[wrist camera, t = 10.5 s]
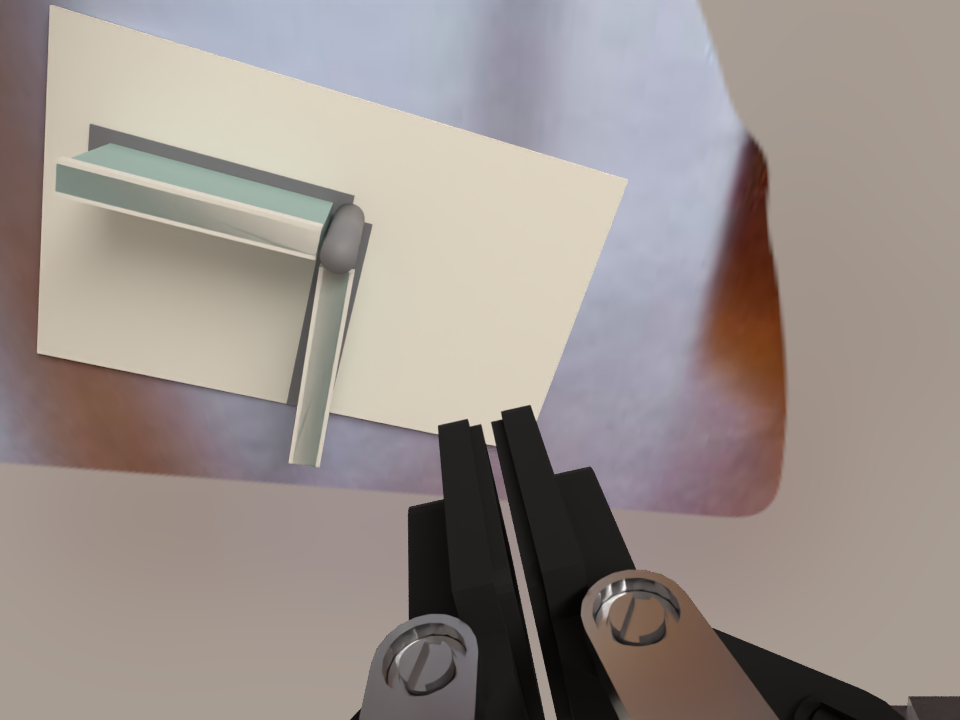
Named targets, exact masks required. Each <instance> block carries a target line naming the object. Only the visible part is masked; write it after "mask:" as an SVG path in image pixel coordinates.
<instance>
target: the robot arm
mask: <svg viewBox="0 0 960 720" xmlns="http://www.w3.org/2000/svg"><path fill="white" fill-rule="evenodd" d="M501 416H502V419H501V420H497V421H492V422H491V425H492V430H493V434H494V439H495V443H496V448H497V452H498V457H499V461H500V466H501V470H502V475H503V479H504V484H505V488H506V493H507V497H508V502H509V506H510V511H511V515H512V520H513V524H514V529H515V533H516V538H517V543H518V547H519V551H520V556H521V561H522V565H523V569H524V574H525V579H526V583H527V588H528V592H529V596H530V601H531V605H532V610H533V614H534V618H535V623H536V628H537V632H538V637H539V641H540V646H541V650H542V655H543V659H544V664H545V668H546V672H547V677H548V681H549V686H550V690H551V695H552V699H553V703H554V708H555V713H556V717H557V720H960V696H909V697H908V705H906V706H905V705H904V706H903V705H902V706H901V705H900V706H897V705H895V706H894V705H891V706H890V705H889V704H887V703H886V702H885V701H883V700H881V699H879V698H878V697H876V696H874V695H872V694H870V693H869V692H867V691H864V690H862V689H860V688H858V687H855V686H853V685H850V684H848V683H845V682H843V681H840V680H838V679H836V678H833V677H831V676H828V675H826V674H823V673H821V672H819V671H816V670H814V669H811V668H809V667H806V666H804V665H802V664H799V663H797V662H794V661H792V660H789V659H787V658H785V657H782V656H780V655H777V654H775V653H772V652H770V651H768V650H765V649H763V648H760V647H758V646H755V645H753V644H750V643H748V642H745V641H743V640H741V639H738V638H736V637H733V636H731V635H729V634H726V633H724V632H721V631H719V630H716V629H714V628H712V627H711V626H710V625H709V623H708V622H707V620H706V619H705V618H704V617H703V615H702V614H701V612H700V611H699V610H698V608H697V607H696V606H695V604H694V603H693V601H692V600H691V599H690V598H689V596H688V595H687V593H686V592H685V591H684V590H683V589H682V588H681V587H680V586H679V585H678V584H677V583H676V582H675V581H673V580H671V579H669V578H667V577H666V576H664V575H662V574H659V573H655V572H651V571H647V570H636V568H635V566H634V563H633V561H632V559H631V556H630V554H629V552H628V549H627V547H626V545H625V543H624V540H623V538H622V536H621V533H620V531H619V529H618V526H617V524H616V522H615V519H614V517H613V515H612V512H611V510H610V508H609V505H608V503H607V501H606V498H605V496H604V494H603V491H602V489H601V487H600V485H599V482H598V480H597V478H596V475H595V473H594V471H593V469H592V468H591V467H586V468H581V469H577V470H572V471H568V472H563V473H559V474H554V472H553V469H552V466H551V464H550V461H549V458H548V455H547V452H546V449H545V446H544V443H543V440H542V437H541V434H540V431H539V428H538V425H537V422H536V419H535V416H534V413H533V410H532V408H531V405H527V406H522V407H518V408H513V409H509V410H504V411H501ZM438 435H439V447H440V459H441V471H442V482H443V494H444V499H443V500H438V501H434V502H430V503H425V504H421V505H416V506H411V507H409V510H408V558H409V559H408V561H409V562H408V563H409V621H407V622H405V623H403V624H401V625H399V626H398V627H397V628H395V629H394V630H393V631H392V632H390V633H389V634H388V635H387V636H386V637H385V639H384V640H383V641H382V643H381V644H380V645H379V646H378V648H377V650H376V652H375V655H374V657H373V660H372V662H371V667H370V671H369V676H368V681H367V686H366V689H365V695H364V699H363V703H362V708H361V709H360V710H359V711H358V712H357V713H356V714H355V715H354V716H353V718H352V719H351V720H545V717H544V713H543V707H542V702H541V697H540V693H539V688H538V683H537V678H536V673H535V668H534V663H533V658H532V653H531V648H530V644H529V639H528V634H527V629H526V624H525V619H524V614H523V610H522V604H521V599H520V595H519V590H518V585H517V580H516V575H515V570H514V565H513V561H512V556H511V551H510V546H509V542H508V538H507V533H506V529H505V525H504V520H503V516H502V512H501V507H500V503H499V499H498V494H497V490H496V486H495V481H494V477H493V473H492V468H491V464H490V460H489V455H488V451H487V447H486V442H485V438H484V434H483V429H482V425H481V424H479V425H474V426H470V425H469V421H468V419H464V420H460V421H455V422H451V423H446V424H442V425H438Z"/></svg>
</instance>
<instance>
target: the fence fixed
mask: <svg viewBox="0 0 960 720" xmlns="http://www.w3.org/2000/svg"><path fill="white" fill-rule="evenodd" d="M55 196H58V197H62V198H66V199H70V200H74V201H78V202H82V203H86V204H90V205H94V206H98V207H102V208H106V209H110V210H114V211H118V212H122V213H126V214H130V215H134V216H138V217H142V218H146V219H150V220H154V221H158V222H162V223H166V224H170V225H174V226H178V227H182V228H186V229H190V230H194V231H198V232H202V233H206V234H210V235H214V236H218V237H222V238H226V239H230V240H234V241H238V242H243V243H247V244H251V245H255V246H259V247H263V248H267V249H271V250H275V251H279V252H283V253H287V254H291V255H295V256H299V257H303V258H307V259H311V260H315V259H316V257H317V252H318V250H319V247H320V245H321V242H322V240H323V237H324V235H325V232H326V230H327V227H328V225H329V220H330V215H331V211H332V206H333V203H332V202H328V201H325V200H321V199H317V198H314V197H310V196H306V195H302V194H299V193H295V192H291V191H287V190H284V189H280V188H276V187H273V186H269V185H265V184H261V183H258V182H254V181H250V180H246V179H243V178H239V177H235V176H232V175H228V174H224V173H220V172H217V171H213V170H209V169H205V168H202V167H198V166H194V165H191V164H187V163H183V162H179V161H176V160H172V159H168V158H164V157H161V156H157V155H153V154H150V153H146V152H142V151H138V150H135V149H131V148H127V147H123V146H120V145H116V144H112V143H109V144H107V145H104V146H101V147H99V148H96V149H93V150H91V151H88V152H85V153H83V154H80V155H77V156H75V157H72V158H68V157H64V156H63V157H60V158H57V164H56V187H55ZM364 222H365V216H364V213H363V211H362V209H361V208H360V207H358V206H357V205H355V204H344V205H341V206H340V207H339V208H338V209H337V210H336V212H335V214H334V217H333V220H332V222H331V225H330V227H329V230H328V233H327V235H326V238H325V240H324V243H323V246H322V248H321V251H320V260H321V263H322V265H323V266H324V268H325V269H327V270H328V271H330V272H332V273H335V274H344V273H347V272H349V271H350V270H351V269H352V268H353V267H354V266H355V263H356V260H357V255H358V250H359V245H360V241H361V236H362V231H363V227H364Z"/></svg>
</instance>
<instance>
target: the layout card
mask: <svg viewBox="0 0 960 720" xmlns="http://www.w3.org/2000/svg"><path fill="white" fill-rule="evenodd" d="M109 143H112V144H116V145H120V146H123V147H127V148H131V149H135V150H138V151H142V152H146V153H150V154H153V155H157V156H161V157H164V158H168V159H172V160H176V161H179V162H183V163H187V164H191V165H194V166H198V167H202V168H205V169H209V170H213V171H217V172H220V173H224V174H228V175H232V176H235V177H239V178H243V179H246V180H250V181H254V182H258V183H261V184H265V185H269V186H273V187H276V188H280V189H284V190H287V191H291V192H295V193H299V194H302V195H306V196H310V197H314V198H317V199H321V200H325V201H328V202H332V203H333V206H332V211H331V215H330V220H329V225H328V227H327V230H326V232H325V235H324V237H323V240H322V242H321V245H320V247H319V250H318V252H317V257H316V259H315V260H311V259H307V258H303V257H299V256H295V255H291V254H287V253H283V252H279V251H275V250H271V249H267V248H263V247H259V246H255V245H251V244H247V243H243V242H238V241H234V240H230V239H226V238H222V237H218V236H214V235H210V234H206V233H202V232H198V231H194V230H190V229H186V228H182V227H178V226H174V225H170V224H166V223H162V222H158V221H154V220H150V219H146V218H142V217H138V216H134V215H130V214H126V213H122V212H118V211H114V210H110V209H106V208H102V207H98V206H94V205H90V204H86V203H82V202H78V201H74V200H70V199H66V198H62V197H58V196H55V187H56V164H57V158H60V157H63V156H64V157H68V158H72V157H75V156H77V155H80V154H83V153H85V152H88V151H91V150H93V149H96V148H99V147H101V146H104V145H107V144H109ZM627 182H628V180H627V179H625V178H621V177H618V176H615V175H611V174H608V173H605V172H601V171H598V170H595V169H592V168H588V167H585V166H582V165H578V164H575V163H572V162H568V161H565V160H562V159H559V158H555V157H552V156H549V155H545V154H542V153H539V152H536V151H532V150H529V149H526V148H522V147H519V146H516V145H512V144H509V143H506V142H503V141H499V140H496V139H493V138H489V137H486V136H483V135H480V134H476V133H473V132H470V131H466V130H463V129H460V128H456V127H453V126H450V125H447V124H443V123H440V122H437V121H433V120H430V119H427V118H424V117H420V116H417V115H414V114H410V113H407V112H404V111H400V110H397V109H394V108H391V107H387V106H384V105H381V104H377V103H374V102H371V101H367V100H364V99H361V98H358V97H354V96H351V95H348V94H344V93H341V92H338V91H335V90H331V89H328V88H325V87H321V86H318V85H315V84H311V83H308V82H305V81H302V80H298V79H295V78H292V77H288V76H285V75H282V74H279V73H275V72H272V71H269V70H265V69H262V68H259V67H255V66H252V65H249V64H246V63H242V62H239V61H236V60H232V59H229V58H226V57H222V56H219V55H216V54H213V53H209V52H206V51H203V50H199V49H196V48H193V47H190V46H186V45H183V44H180V43H176V42H173V41H170V40H166V39H163V38H160V37H157V36H153V35H150V34H147V33H143V32H140V31H137V30H134V29H130V28H127V27H124V26H120V25H117V24H114V23H110V22H107V21H104V20H101V19H97V18H94V17H91V16H87V15H84V14H81V13H78V12H74V11H71V10H68V9H64V8H61V7H58V6H54V5H50V15H49V42H48V69H47V96H46V123H45V150H44V177H43V204H42V231H41V258H40V285H39V312H38V339H37V353H39V354H44V355H49V356H54V357H59V358H64V359H69V360H74V361H78V362H83V363H88V364H93V365H98V366H103V367H108V368H113V369H118V370H123V371H128V372H133V373H138V374H143V375H148V376H153V377H157V378H162V379H167V380H172V381H177V382H182V383H187V384H192V385H197V386H202V387H207V388H212V389H217V390H222V391H227V392H232V393H236V394H241V395H246V396H251V397H256V398H261V399H266V400H271V401H276V402H281V403H286V404H287V405H291V406H296V407H297V406H298V400H299V393H300V387H301V381H302V374H303V368H304V362H305V355H306V349H307V342H308V336H309V330H310V323H311V317H312V311H313V304H314V298H315V292H316V285H317V279H318V273H319V266H320V264H321V260H320V251H321V248H322V246H323V243H324V240H325V238H326V235H327V233H328V230H329V227H330V225H331V222H332V220H333V217H334V214H335V212H336V210H337V209H338V208H339V207H340V206H341V205H344V204H355V205H357V206H358V207H360V208H361V209H362V211H363V213H364V216H365V222H364V227H363V231H362V236H361V241H360V245H359V250H358V255H357V260H356V263H355V266H354V267H353V268H352V269H354V270H355V272H354V278H353V283H352V289H351V295H350V300H349V306H348V311H347V317H346V322H345V328H344V333H343V339H342V345H341V350H340V356H339V361H338V367H337V372H336V378H335V383H334V389H333V394H332V400H331V406H330V411H329V412H330V413H335V414H340V415H345V416H350V417H355V418H360V419H365V420H370V421H375V422H380V423H385V424H390V425H395V426H399V427H404V428H409V429H414V430H419V431H424V432H429V433H434V434H438V425H442V424H446V423H451V422H455V421H460V420H464V419H468V421H469V425H470V426H474V425H479V424H481V425H482V429H483V434H484V438H485V442H486V444H488V445H493V446H496V443H495V439H494V434H493V430H492V425H491V422H492V421H497V420H501V419H502V416H501V411H504V410H509V409H513V408H518V407H522V406H527V405H531V408H532V410H533V413H534V416H535V419H536V421H537V419H538V416H539V413H540V411H541V408H542V405H543V403H544V400H545V398H546V395H547V392H548V390H549V387H550V384H551V382H552V379H553V377H554V374H555V371H556V369H557V366H558V363H559V361H560V358H561V356H562V353H563V350H564V348H565V345H566V342H567V340H568V337H569V335H570V332H571V329H572V327H573V324H574V321H575V319H576V316H577V314H578V311H579V308H580V306H581V303H582V300H583V298H584V295H585V293H586V290H587V287H588V285H589V282H590V280H591V277H592V274H593V272H594V269H595V266H596V264H597V261H598V259H599V256H600V253H601V251H602V248H603V245H604V243H605V240H606V238H607V235H608V232H609V230H610V227H611V224H612V222H613V219H614V217H615V214H616V211H617V209H618V206H619V203H620V201H621V198H622V196H623V193H624V190H625V188H626V185H627Z"/></svg>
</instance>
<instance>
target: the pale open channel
mask: <svg viewBox="0 0 960 720" xmlns="http://www.w3.org/2000/svg"><path fill="white" fill-rule="evenodd" d="M354 272H355V270H354V269H351V270H350V271H349V272H347V273H344V274H335V273H332V272H330V271H328V270H327V269H325V268H324V266H323V265H322V263H321V264H320V266H319V273H318V279H317V285H316V292H315V298H314V304H313V311H312V317H311V323H310V330H309V336H308V342H307V349H306V355H305V362H304V368H303V374H302V381H301V387H300V393H299V400H298V406H297V412H296V419H295V425H294V431H293V438H292V444H291V450H290V457H289V463H292V464H299V465H306V466H313V467H319V466H320V461H321V456H322V450H323V444H324V439H325V433H326V428H327V422H328V417H329V411H330V406H331V400H332V394H333V389H334V383H335V378H336V372H337V367H338V361H339V356H340V350H341V345H342V339H343V333H344V328H345V322H346V317H347V311H348V306H349V300H350V295H351V289H352V283H353V278H354Z"/></svg>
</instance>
